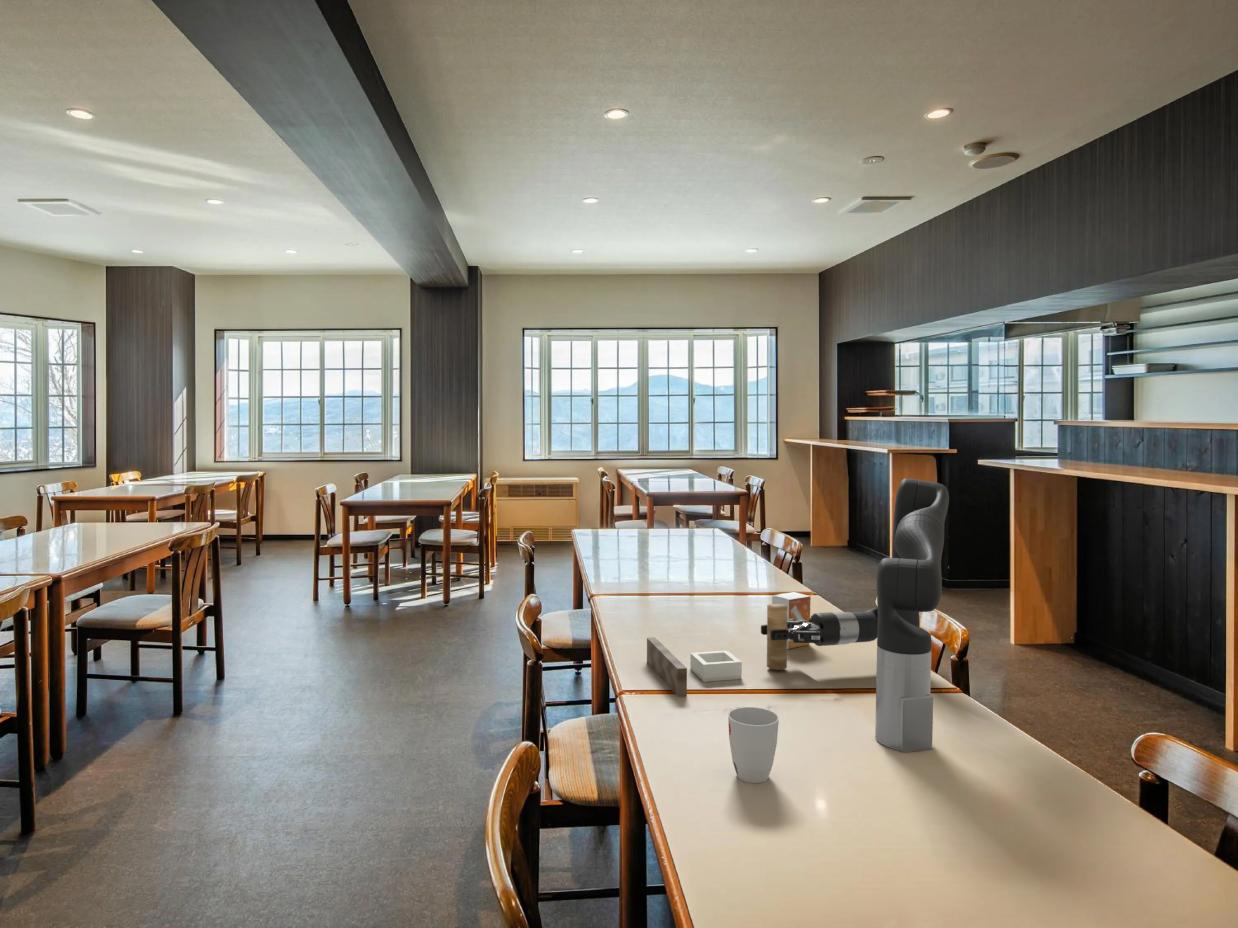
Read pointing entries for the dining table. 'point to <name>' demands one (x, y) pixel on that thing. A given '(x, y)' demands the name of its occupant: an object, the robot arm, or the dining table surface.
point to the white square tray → (715, 666)
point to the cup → (753, 742)
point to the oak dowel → (776, 647)
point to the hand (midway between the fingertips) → (766, 632)
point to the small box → (794, 609)
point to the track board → (667, 666)
